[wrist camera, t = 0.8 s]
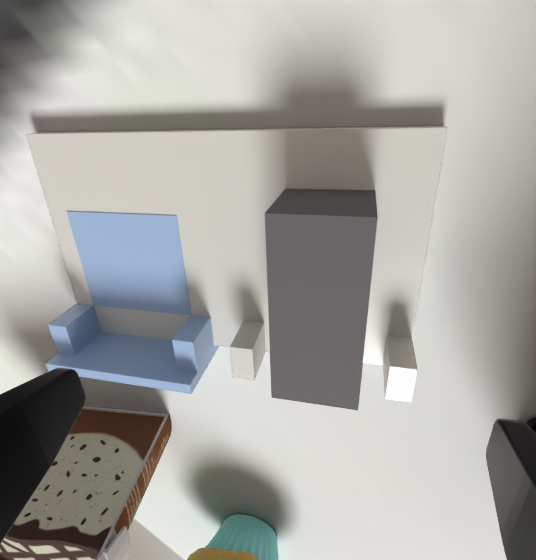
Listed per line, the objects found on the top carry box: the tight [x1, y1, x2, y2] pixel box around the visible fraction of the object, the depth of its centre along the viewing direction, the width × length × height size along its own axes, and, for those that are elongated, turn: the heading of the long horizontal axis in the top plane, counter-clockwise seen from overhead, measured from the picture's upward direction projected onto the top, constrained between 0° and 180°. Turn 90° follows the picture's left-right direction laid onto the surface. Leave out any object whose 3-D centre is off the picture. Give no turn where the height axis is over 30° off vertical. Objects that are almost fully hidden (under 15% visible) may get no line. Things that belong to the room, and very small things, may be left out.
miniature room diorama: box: [26, 126, 447, 402], centre depth 18 cm, size 20×13×4 cm, turn 92°
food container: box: [0, 406, 172, 560], centre depth 26 cm, size 12×6×10 cm, turn 98°
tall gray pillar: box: [265, 188, 378, 410], centre depth 17 cm, size 4×9×4 cm, turn 2°
